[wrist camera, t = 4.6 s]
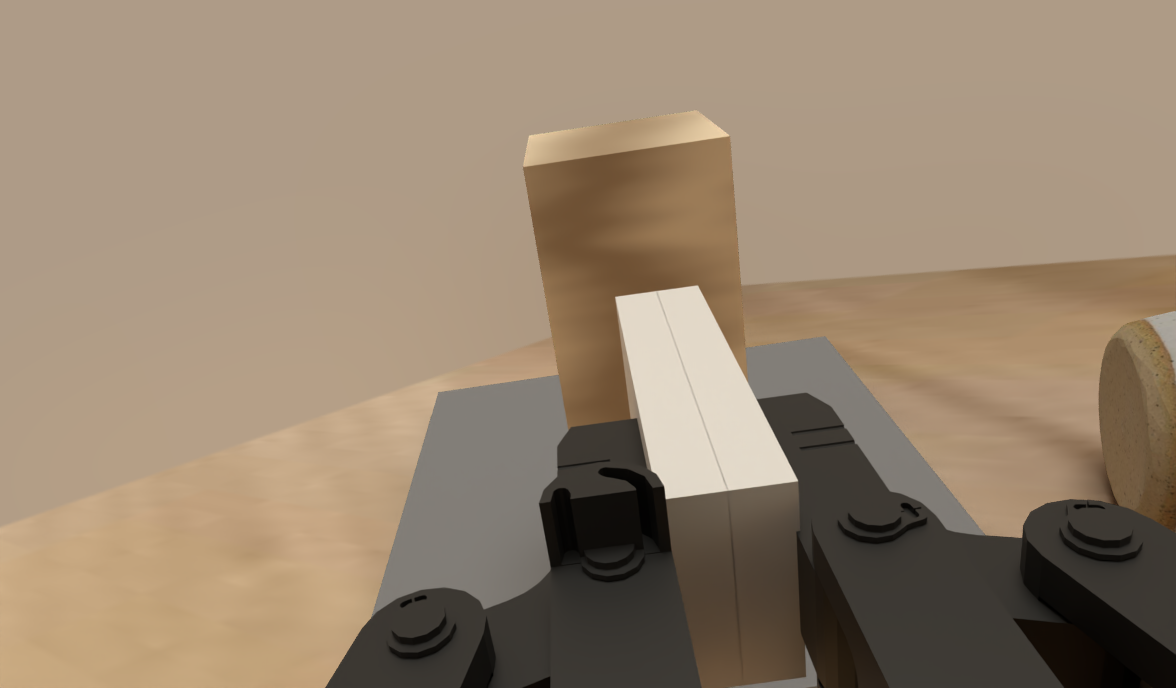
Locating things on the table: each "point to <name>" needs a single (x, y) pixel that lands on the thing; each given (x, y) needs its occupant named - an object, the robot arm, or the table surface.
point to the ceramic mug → (1141, 417)
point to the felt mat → (529, 464)
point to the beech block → (629, 240)
